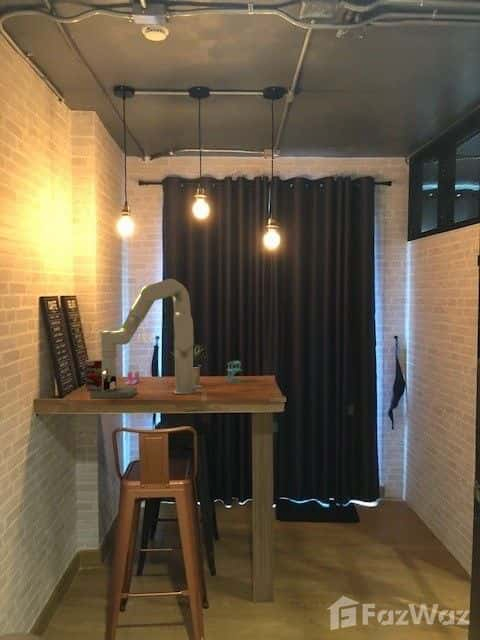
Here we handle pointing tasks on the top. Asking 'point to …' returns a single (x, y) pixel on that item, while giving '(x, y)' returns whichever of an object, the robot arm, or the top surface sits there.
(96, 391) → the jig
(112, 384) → the bushing
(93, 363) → the supplement box
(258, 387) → the top surface
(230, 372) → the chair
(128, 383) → the pink notched block
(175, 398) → the top surface
